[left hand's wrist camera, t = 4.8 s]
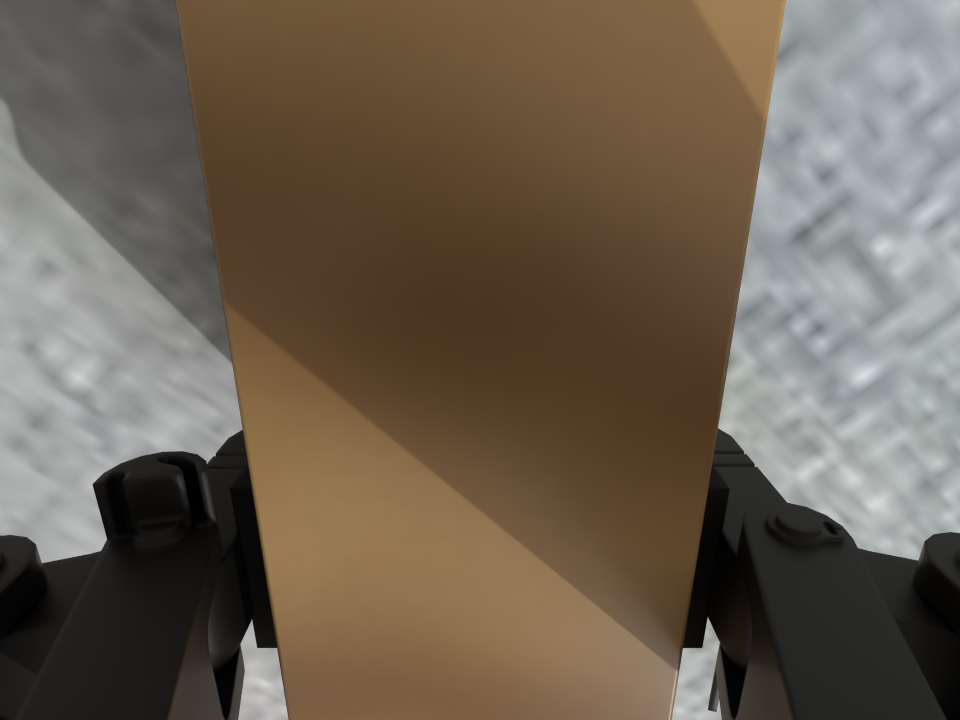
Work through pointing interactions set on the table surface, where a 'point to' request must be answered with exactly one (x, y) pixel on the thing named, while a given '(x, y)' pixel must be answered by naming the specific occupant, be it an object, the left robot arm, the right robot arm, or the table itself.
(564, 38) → the beam
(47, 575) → the left robot arm
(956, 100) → the table surface
